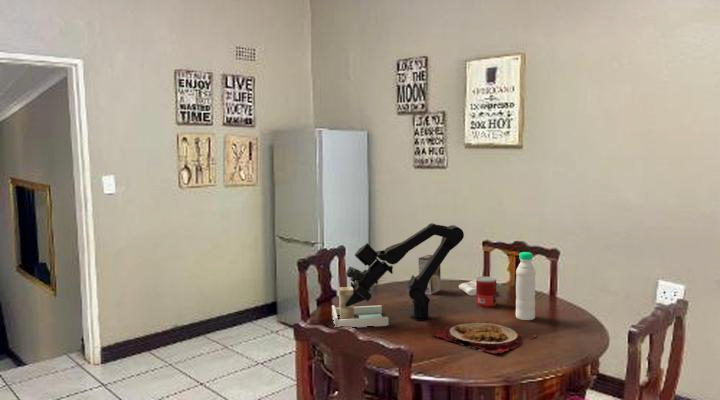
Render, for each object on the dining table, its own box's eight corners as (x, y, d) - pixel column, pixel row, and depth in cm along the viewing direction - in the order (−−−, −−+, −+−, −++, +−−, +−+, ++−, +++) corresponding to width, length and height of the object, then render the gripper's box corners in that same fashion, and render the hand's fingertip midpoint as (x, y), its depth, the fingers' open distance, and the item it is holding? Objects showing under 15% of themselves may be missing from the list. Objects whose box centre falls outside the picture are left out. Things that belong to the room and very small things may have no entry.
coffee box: (428, 288, 247) (428, 254, 246) (441, 290, 243) (440, 255, 242) (418, 292, 240) (418, 257, 239) (431, 294, 236) (430, 259, 235)
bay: (381, 312, 211) (381, 302, 211) (388, 325, 195) (388, 315, 195) (332, 315, 208) (331, 305, 208) (335, 328, 193) (335, 317, 192)
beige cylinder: (352, 318, 204) (352, 286, 203) (354, 322, 199) (353, 290, 198) (339, 319, 203) (339, 287, 202) (340, 323, 198) (340, 290, 197)
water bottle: (536, 321, 197) (537, 254, 195) (516, 320, 199) (516, 254, 196) (533, 315, 204) (534, 251, 202) (514, 314, 206) (515, 250, 203)
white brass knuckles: (456, 288, 248) (485, 286, 251) (470, 298, 230) (502, 296, 233) (456, 281, 248) (485, 279, 250) (470, 291, 230) (502, 289, 233)
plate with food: (498, 359, 164) (499, 348, 164) (430, 337, 183) (430, 327, 182) (537, 340, 181) (537, 330, 181) (471, 321, 200) (471, 312, 200)
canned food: (498, 307, 216) (498, 280, 215) (478, 307, 216) (478, 280, 215) (493, 302, 223) (493, 276, 222) (474, 302, 223) (474, 276, 222)
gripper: (355, 255, 209) (328, 283, 209) (361, 264, 191) (331, 296, 190) (375, 273, 211) (348, 302, 210) (383, 285, 192) (353, 316, 192)
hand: (345, 304), depth 201 cm, fingers closed on beige cylinder, 5 cm apart
